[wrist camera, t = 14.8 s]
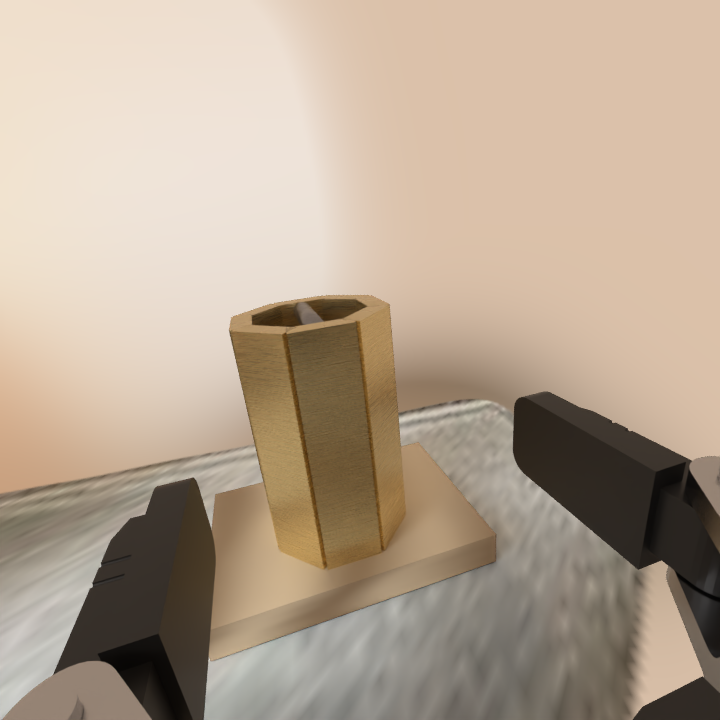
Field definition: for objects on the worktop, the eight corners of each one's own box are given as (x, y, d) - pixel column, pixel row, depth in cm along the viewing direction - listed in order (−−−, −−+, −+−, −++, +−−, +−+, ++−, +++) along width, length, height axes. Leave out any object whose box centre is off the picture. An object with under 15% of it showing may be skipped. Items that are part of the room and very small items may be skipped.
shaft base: (210, 661, 14) (132, 437, 11) (221, 516, 22) (176, 356, 18) (495, 561, 17) (499, 358, 14) (419, 462, 24) (410, 315, 21)
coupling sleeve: (282, 584, 15) (226, 344, 12) (272, 491, 21) (232, 309, 17) (422, 540, 17) (407, 313, 13) (378, 464, 22) (360, 289, 19)
